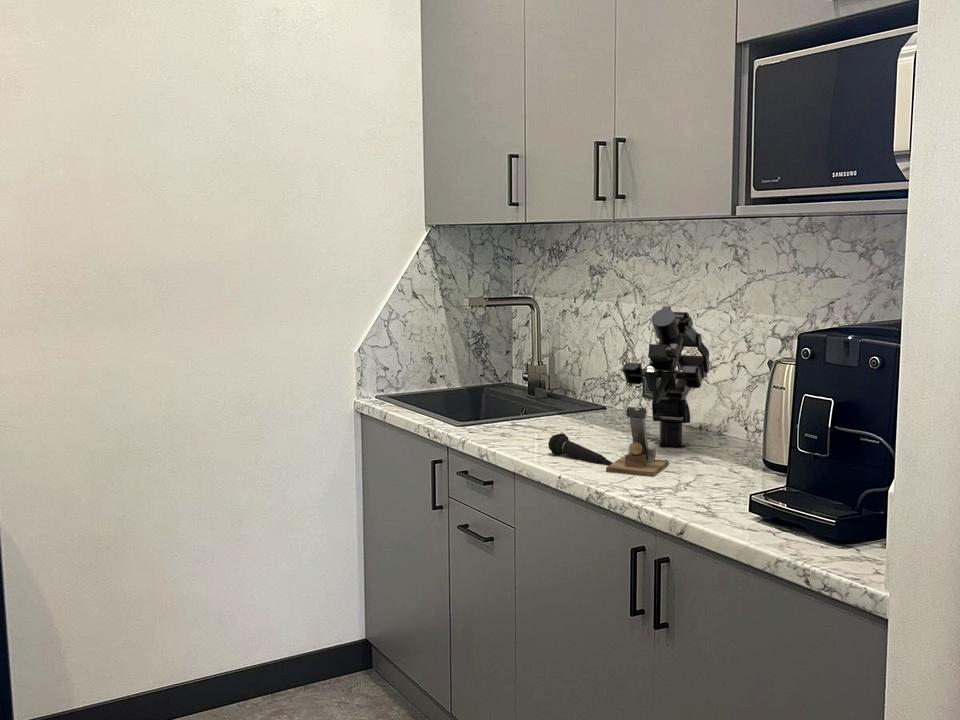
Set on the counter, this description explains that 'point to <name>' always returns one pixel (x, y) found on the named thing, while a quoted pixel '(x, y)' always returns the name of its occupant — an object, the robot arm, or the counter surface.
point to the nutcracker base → (637, 471)
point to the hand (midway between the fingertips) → (655, 402)
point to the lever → (639, 427)
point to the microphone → (574, 450)
